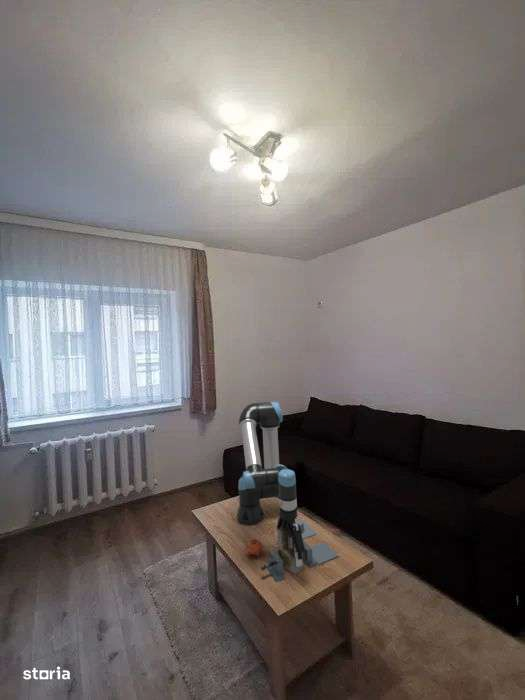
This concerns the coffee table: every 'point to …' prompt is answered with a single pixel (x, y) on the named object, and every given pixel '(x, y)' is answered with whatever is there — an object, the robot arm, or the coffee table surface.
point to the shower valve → (305, 529)
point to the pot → (254, 547)
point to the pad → (323, 553)
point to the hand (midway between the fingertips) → (290, 556)
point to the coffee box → (288, 550)
